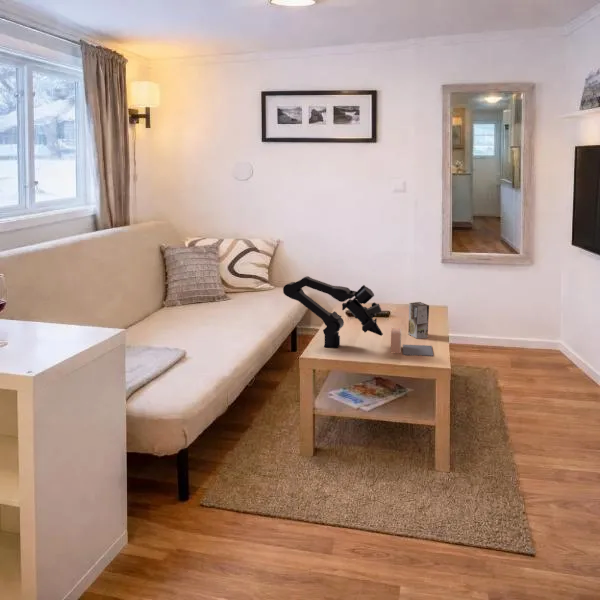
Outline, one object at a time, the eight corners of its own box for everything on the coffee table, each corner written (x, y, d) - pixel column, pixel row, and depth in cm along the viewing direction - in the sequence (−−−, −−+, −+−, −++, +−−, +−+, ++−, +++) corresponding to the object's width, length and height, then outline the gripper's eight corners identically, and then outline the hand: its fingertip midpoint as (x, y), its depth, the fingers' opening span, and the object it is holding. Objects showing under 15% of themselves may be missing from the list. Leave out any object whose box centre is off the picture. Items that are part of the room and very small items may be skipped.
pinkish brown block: (390, 352, 289) (391, 333, 287) (390, 346, 299) (391, 327, 297) (400, 353, 288) (401, 333, 286) (400, 347, 298) (401, 328, 296)
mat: (403, 355, 285) (403, 354, 285) (402, 345, 301) (402, 344, 301) (433, 356, 283) (433, 355, 283) (431, 346, 299) (431, 345, 299)
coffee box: (428, 338, 314) (429, 305, 311) (416, 339, 312) (417, 306, 309) (419, 333, 322) (420, 301, 319) (407, 334, 320) (408, 302, 317)
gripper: (370, 302, 281) (395, 328, 282) (371, 294, 299) (395, 318, 300) (351, 319, 284) (376, 344, 285) (354, 310, 302) (377, 334, 303)
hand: (382, 334), depth 293 cm, fingers closed
